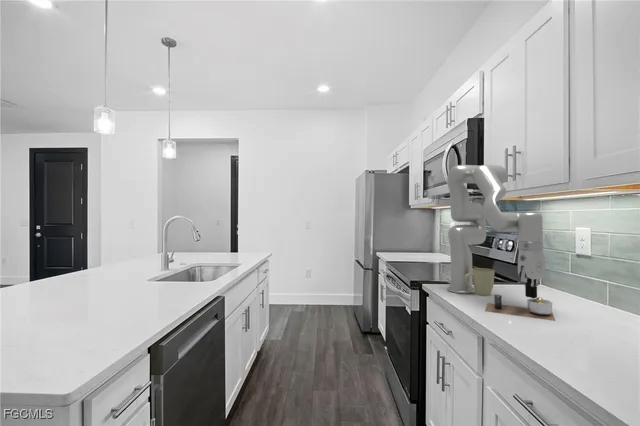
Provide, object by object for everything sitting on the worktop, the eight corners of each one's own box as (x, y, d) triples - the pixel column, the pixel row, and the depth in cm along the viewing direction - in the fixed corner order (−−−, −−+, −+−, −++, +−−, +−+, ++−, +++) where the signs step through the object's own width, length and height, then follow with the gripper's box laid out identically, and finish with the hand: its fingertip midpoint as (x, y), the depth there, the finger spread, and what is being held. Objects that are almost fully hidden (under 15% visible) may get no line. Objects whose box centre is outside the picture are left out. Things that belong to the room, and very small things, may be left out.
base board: (484, 314, 119) (484, 311, 119) (487, 305, 130) (487, 302, 130) (555, 324, 108) (555, 320, 108) (552, 314, 119) (552, 310, 119)
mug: (475, 293, 151) (475, 267, 152) (498, 297, 144) (498, 270, 144) (464, 296, 144) (464, 269, 145) (487, 301, 137) (487, 272, 137)
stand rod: (493, 307, 123) (492, 295, 123) (498, 307, 123) (498, 294, 124) (497, 309, 121) (497, 296, 121) (503, 309, 121) (503, 296, 121)
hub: (526, 312, 117) (526, 296, 117) (539, 310, 119) (539, 295, 119) (540, 316, 112) (540, 300, 112) (553, 315, 113) (553, 299, 113)
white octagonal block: (525, 307, 120) (525, 297, 120) (547, 308, 118) (546, 299, 118) (531, 312, 113) (531, 302, 113) (554, 314, 111) (554, 304, 111)
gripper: (529, 248, 111) (530, 302, 111) (552, 246, 118) (553, 296, 118) (507, 246, 118) (508, 297, 117) (531, 245, 125) (532, 292, 125)
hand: (531, 297), depth 118 cm, fingers closed
